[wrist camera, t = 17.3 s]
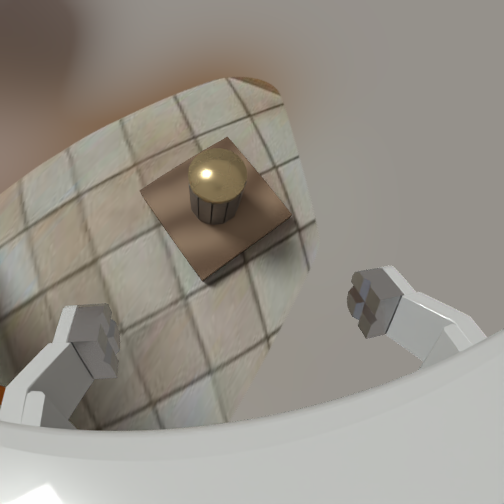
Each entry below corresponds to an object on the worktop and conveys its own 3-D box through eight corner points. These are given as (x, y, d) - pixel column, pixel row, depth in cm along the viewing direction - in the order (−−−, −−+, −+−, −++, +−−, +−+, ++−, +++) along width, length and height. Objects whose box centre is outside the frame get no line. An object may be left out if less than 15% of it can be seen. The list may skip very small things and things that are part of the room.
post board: (141, 195, 38) (139, 190, 37) (226, 142, 42) (227, 136, 40) (202, 281, 37) (202, 279, 36) (288, 218, 41) (292, 214, 39)
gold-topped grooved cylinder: (181, 196, 38) (176, 167, 30) (220, 171, 39) (224, 139, 31) (209, 233, 37) (210, 211, 29) (248, 207, 39) (258, 180, 31)
